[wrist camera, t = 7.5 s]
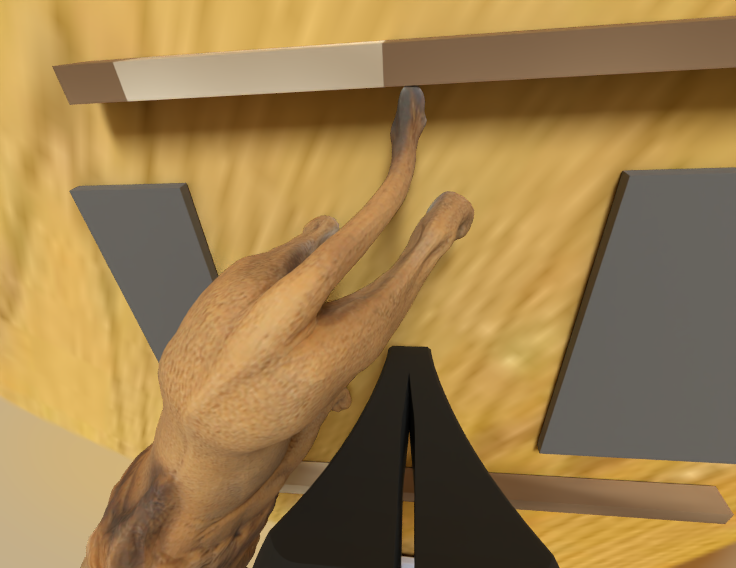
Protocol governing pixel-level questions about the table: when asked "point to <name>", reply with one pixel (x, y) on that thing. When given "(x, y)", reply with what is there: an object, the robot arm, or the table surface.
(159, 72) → the wooden sticks
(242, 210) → the table surface
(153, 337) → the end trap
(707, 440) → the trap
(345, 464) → the robot arm
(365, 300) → the lion figurine
